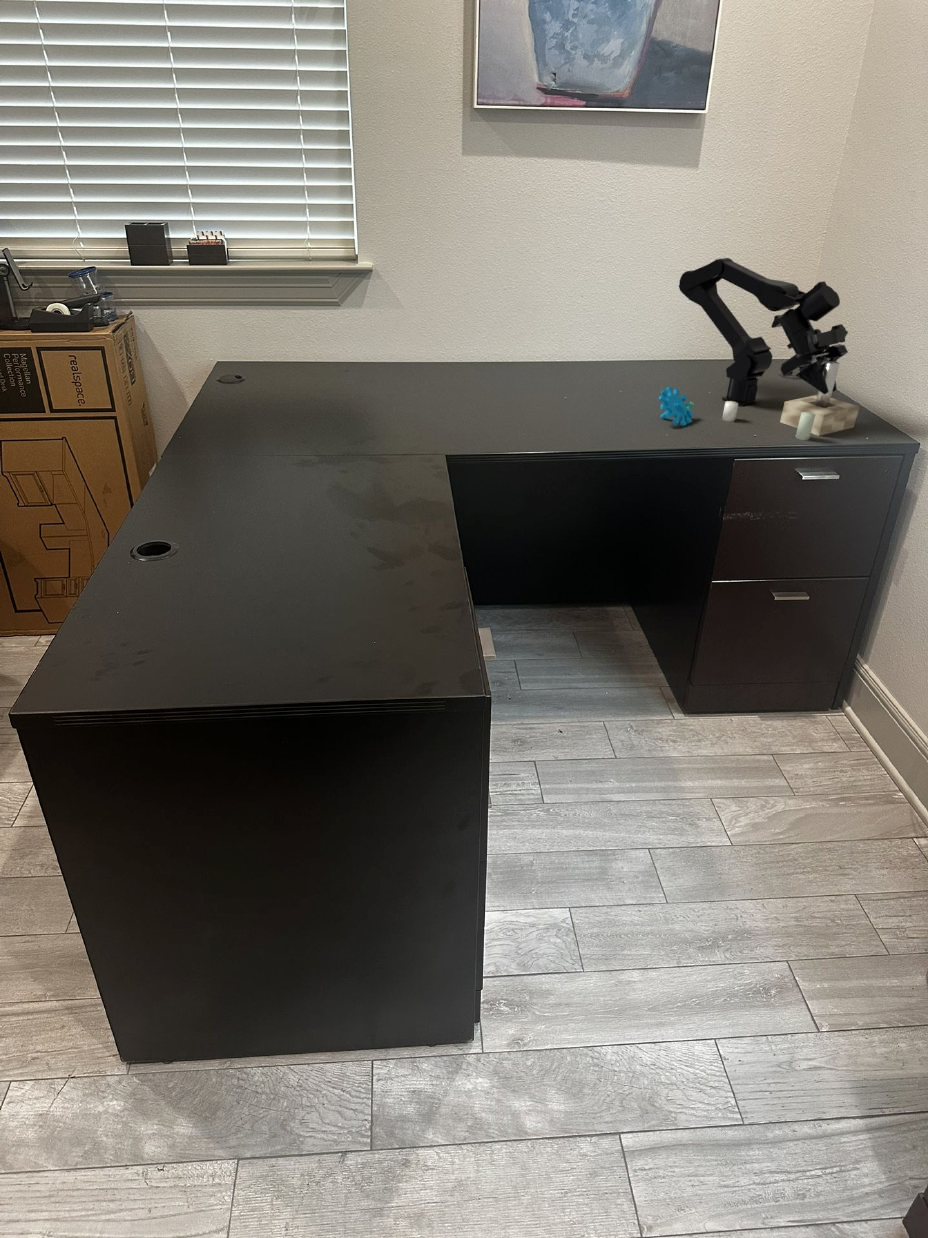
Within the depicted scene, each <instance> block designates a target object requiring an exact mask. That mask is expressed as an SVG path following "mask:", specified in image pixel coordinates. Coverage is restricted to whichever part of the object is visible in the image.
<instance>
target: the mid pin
mask: <svg viewBox="0 0 928 1238" xmlns="http://www.w3.org/2000/svg"><path fill="white" fill-rule="evenodd" d="M814 419H815V414H813V413H809V412H802V413H801V417H800V421H799V425H798V428H796V434H795V439H798V440H801V441H808V440H810V438H811V434H812V433H811V430H812V426H813V422H814Z"/></svg>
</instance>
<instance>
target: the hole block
mask: <svg viewBox="0 0 928 1238" xmlns="http://www.w3.org/2000/svg"><path fill="white" fill-rule="evenodd" d="M816 398H817V394H814V395H810V396H804V397H801V398H796V399H795V398H794V399H790V400H787V401H784V404H783V408H782V412H781V417H780V421H779V423H781V424H784V425H787V426H790V427H792V428H795V429H798V425H799V421H800V417H801V413H802V412H809V413H813V414H815V419H814V422H813V426H812V430H811V434H812V435H815V436H818V437H820V436H823V435H828V434H833V433H836V432H840V431H845V430H849V429H853V428H855V424H856V420H857V418H858V414H859V410H860V406H859V405H857V404H852V403H849V402H846V401H843V400H840V399H836V398H834V397H831V398H830V402H829V406H828V407H827V408H822V407H819V406H816V405H815V402H816Z"/></svg>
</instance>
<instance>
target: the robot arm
mask: <svg viewBox="0 0 928 1238" xmlns="http://www.w3.org/2000/svg"><path fill="white" fill-rule="evenodd" d="M722 279H723V280H724V281H726V282H728V283H730V284H732V285H734V286H736V287H738V288H740V289H741V290H744V291H746V292H748V293H750V294H752V295H753V296H754V297H755V298H757V300H758V302H759V303H760V304H761V305H762V306H763V307H764V308H766V309H767V310H769V311H770V312H780V311H785V310H786V311H785V312H784V313H782V314H777V315H774V316H773V318H774V319H773V320H772V321H773V322H772V324H771V328H773V329H775V328H780V327H781V328H782V329H783V332H784V334H785V336H786V338H787V340H788V342H789V343H788V344H786V346H787V348H788V350H791V349H793V351H794V354H795V355H793V356H791V357H790V358H788V359H787V360H785V362H783V363H782V364H781V367H780V371H781V374H782V375H783V377H784V378H785V377H789V376H792V375H793V372H794V371H796V370H797V369H798V368H799V369H798V371H799V372H798V373H796V374H795V377H796V378H800V379H801V380H802V381H804V382H806V383H807V384H809V385H810V386H812V387H813V388H815V390H818V391H820V392H822V393H823V394H826V393H828V392H829V391H828V388H827V385H826V382H825V379H824V377H823V371H824V367H825V363H826V361H835V362H838V360H839V359H841V358H842V357H844V356H845V355H847V354H848V353H849V352H848V349H847V348H846V345H845V344H841V343H845V342H846V337H847V335H848V333H849V332H848V330H846V329H847V328H846V327H845V326H844V324H842V323H841V324H840V323H839V324H836V325H833V326H831V329H830V330H828V331H824V332H822V331H821V330H820V329H818V328H814V326H813V325H812V323H811V321H813V322H818V321H819V320H821V319H823V318H824V317H825V316H827V314H830V313H831V312H832V311H834V310H835V309H836V308H837V307H839V306H840V303H841V302H840V301H841V300H840V296H839V294H838V292H837V291H835V290H834V289H833V288H832V287H831V286H830V285H828V284H827V283H826V281H824V280H823V281H819V282H817V283H816V284H815V285H814V286H813V288H811V289H809V290H808V291H807V292H805V291H802V290H799V287H798V286H797V285H796V284H795V283H792V282H787V281H784V280H779V279H778V280H777V279H770V278H767V276H763V275H761V274H759V273H757V272H755V271H753V270H751V269H749V268H747V267H745V266H744V265H741V264H739V263H738V262H735V261H734V260H733V259H731V258H729V257H724V258H723V257H722V258H717V259H715V260H712V262H711V261H710V263H708V264H706V265H703V266H701V267H698V268H695V269H693V270H687V271H685V272H683V273H682V274H681V276H680V279H679V282H678V283H679V285H678V288H679V291H680V292H681V293H682V295H683V296H685V297H686V298H687V299H688V300H689V301H691V302H693V303H694V304H696V305H698V306H700V308H702V309H703V311H704V312H705V314H706V315H707V317H708V318H709V319H710V321H711V322H712V323H713V324H714V326H715V327H716V330H718V331H719V333H720V335H722V336H723V338H724V339H725V341H726V343H728V345H729V346H730V347H731V350H732V358H733V363H732V364H731V365H729V366H728V367H726V369H725V370H726V371H725V372H726V377H727V378H728V379H729V382H728V387H727V388H728V389H727V391H726V395H725V396H722V398H721V400H724V401H725V402H726V401H733V402H737V403H738V406H745V405H750V404H751V405H752V404H754V403H758V399H756V398H757V393H758V387H759V386H758V382H759V378H761V377H762V376H763V375H764V373H765V371H767V370H768V369H770V367H771V366H772V365H771V364H772V361H773V353H772V352H771V351H770V350H772V348H771V347H770V346H769V345H768V344H767V343H766V342H765V339H764V338H763V337H762V336H758V337H751V336H750V335H749V334H748V333H747V331H746V330H745V328H744V327H743V326H742V325H741V324H740V322H739V321H738V319H737V318H736V316H735V315H734V314H733V312H732V311H731V310H730V308H729V307H728V306H727V305H726V303H725V302H724V301H723V299H722V297H720V295H719V293H718V287H717V286H718V284H717V283H719V282H720V281H721V280H722ZM795 306H797V307H795ZM794 307H795V308H794ZM835 391H837V382H836V380H835V383H834V387H833V391H832V393H834V392H835Z"/></svg>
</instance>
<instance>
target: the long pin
mask: <svg viewBox="0 0 928 1238" xmlns="http://www.w3.org/2000/svg"><path fill="white" fill-rule="evenodd" d="M840 365H841V364H840V362H838V361H836V362H835V361H826V363H825V367H824V371H823V377H824V379H825V382H826V385H827V388H828V391H829V392H828V393H826V394H823V393H822V392H820V391H819V390H818V391H817V394H816V395H817V398H816V402H815V405H816V406H819V407H822V408H827V407H828V406H829V402H830V398H832V394H833V392H832V391H833V387H834V383H835V380H836V379H837V376H838V375H837V374H838V372H839V367H840Z"/></svg>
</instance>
